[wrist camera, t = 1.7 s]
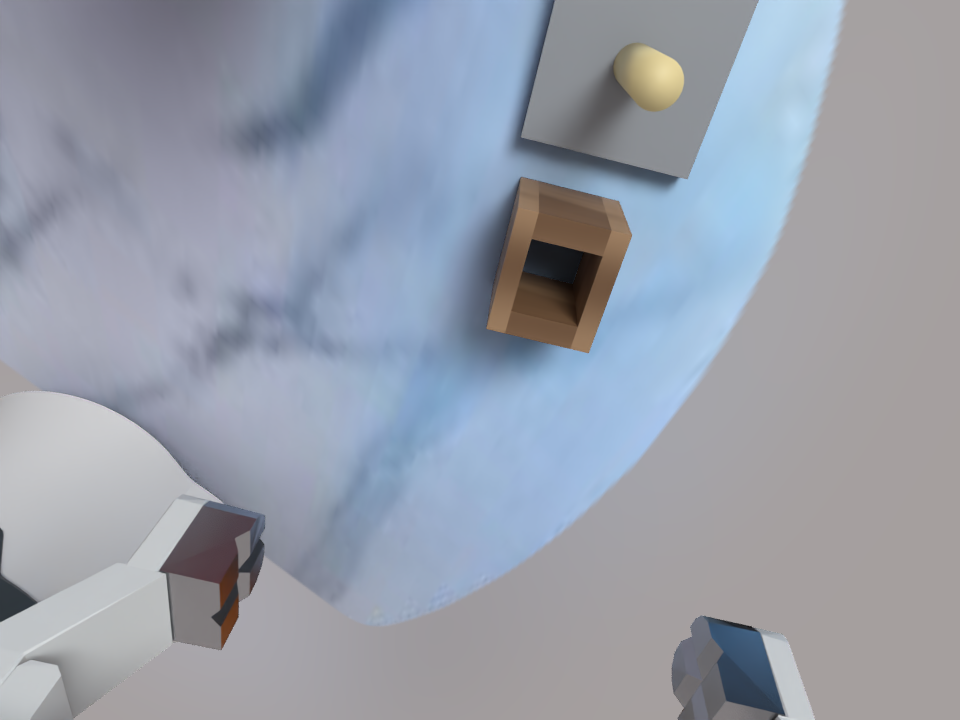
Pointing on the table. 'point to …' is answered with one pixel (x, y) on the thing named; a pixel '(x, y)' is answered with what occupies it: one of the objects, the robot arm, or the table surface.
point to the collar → (548, 302)
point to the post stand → (635, 78)
